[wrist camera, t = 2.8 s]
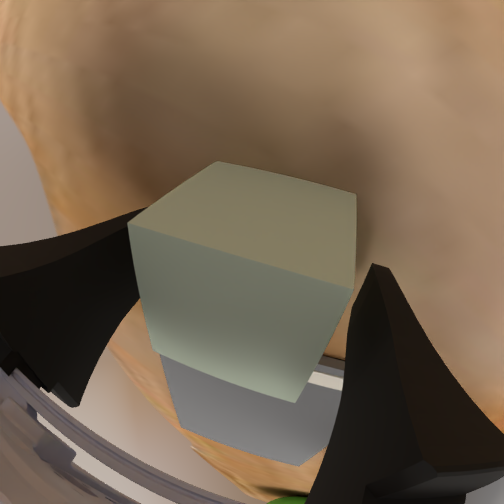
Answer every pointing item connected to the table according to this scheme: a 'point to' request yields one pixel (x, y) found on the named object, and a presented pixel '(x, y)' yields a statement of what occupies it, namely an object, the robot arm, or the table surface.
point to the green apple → (289, 500)
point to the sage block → (246, 274)
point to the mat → (258, 411)
